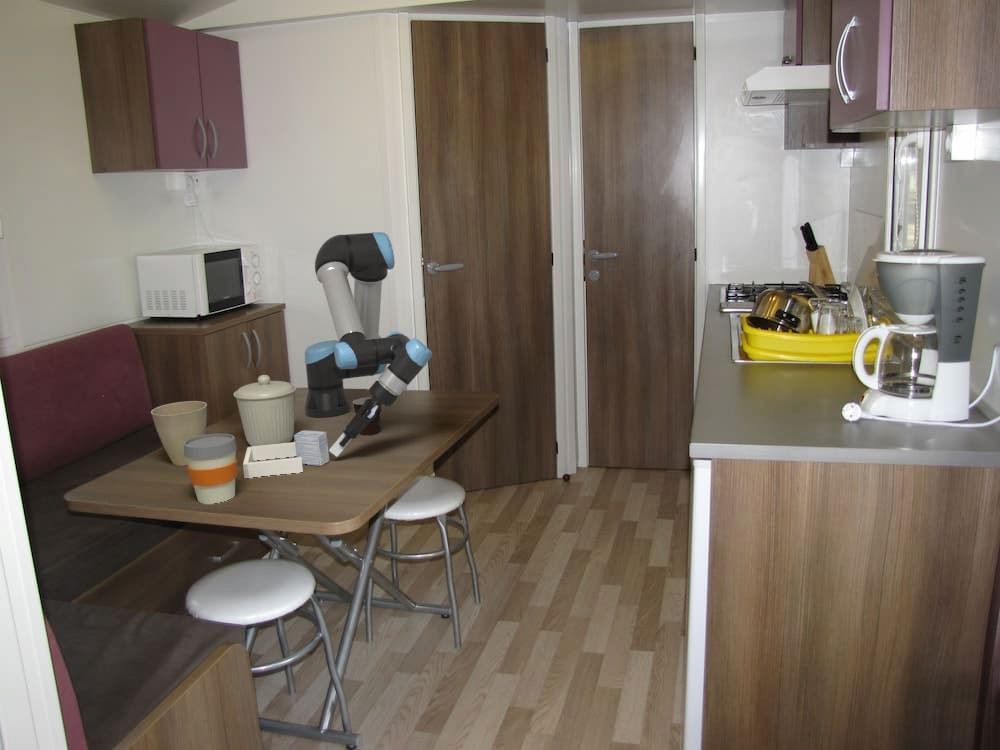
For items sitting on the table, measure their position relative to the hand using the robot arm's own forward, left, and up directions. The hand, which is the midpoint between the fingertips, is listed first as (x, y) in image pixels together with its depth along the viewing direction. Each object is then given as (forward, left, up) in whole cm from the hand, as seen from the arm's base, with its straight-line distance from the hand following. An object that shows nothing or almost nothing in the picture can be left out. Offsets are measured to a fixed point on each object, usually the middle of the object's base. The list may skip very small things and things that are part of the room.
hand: (333, 453), depth 251 cm
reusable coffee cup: (+19, -29, -3) cm, 35 cm away
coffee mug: (-28, +12, -3) cm, 30 cm away
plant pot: (-15, -41, -3) cm, 44 cm away
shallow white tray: (-2, -15, -3) cm, 16 cm away
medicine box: (-1, -6, -3) cm, 6 cm away
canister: (-25, -18, -3) cm, 31 cm away
